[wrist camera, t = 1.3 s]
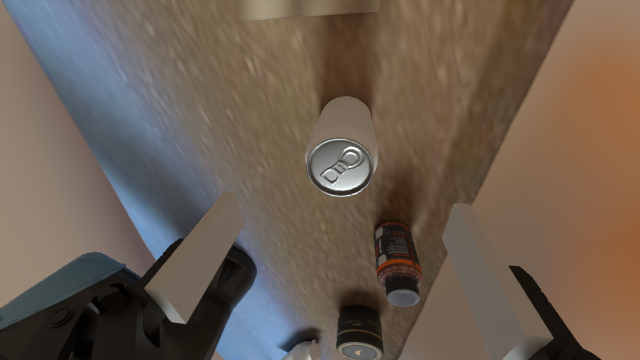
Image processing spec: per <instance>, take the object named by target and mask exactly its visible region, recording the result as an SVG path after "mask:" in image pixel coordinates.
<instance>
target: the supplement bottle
mask: <svg viewBox="0 0 640 360" xmlns="http://www.w3.org/2000/svg"><path fill="white" fill-rule="evenodd" d="M374 245H375V256H376V267H377V277H378V282H379V283H380V285H381V286H382V287H383V288H385V289H386V290H385V291H386V295H387V300H388V301H389V302H390V303H391V304H393V305H396V306H401V307H406V306H412V305H414V304H416V303H417V302H418V301H419V299H420V297H419V292H418V287H419V286H420V285H421V283H422V272H421V268H420V264H419V261H418V257H417V253H416V250H415V246H414V242H413V238H412V235H411V232H410V230H409V228H408V227H407V226H406V225H404V224H403V223H400V222H395V221H390V222H385V223H383V224H381V225H379V226H378V227H377V228H376V229H375V232H374Z"/></svg>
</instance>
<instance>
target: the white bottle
mask: <svg viewBox="0 0 640 360" xmlns="http://www.w3.org/2000/svg"><path fill="white" fill-rule="evenodd" d="M315 342H316V340H312V342H310V341H308V342H305V341H304V342H301V343H299V344H297V345H296V346H295V347H294V348H293V349H292V350H291V351H289V352H288V353H287V354H286V355H285V356H284V357H283V358H282V359H281V360H320V357H321V348H320V346H318V345H317V344H316V343H315Z"/></svg>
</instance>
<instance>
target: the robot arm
mask: <svg viewBox="0 0 640 360" xmlns="http://www.w3.org/2000/svg"><path fill="white" fill-rule="evenodd" d="M244 224H245V223H244V220H243V216H242V213H241V210H240V207H239V204H238V200H237V197H236V194H235V192H223V193H222V195H221V196H220V197H219V198H218V199H217V201H216V202H215V203H214V204H213V205H212V207H211V208H210V209H209V210H208V212H207V213H206V214H205V215H204V216H203V218H202V219H201V220H200V221H199V222H198V224H197V225H196V226H195V227H194V228H193V230H192V231H191V232H190V233H189V235H188V236H187V237H186V238H185V239H181V238H180V239H178V240H177V241H175V242H174V243H173V244H171V245H170V246H169V247H168V248H167V249H166V251H165V252H164V253H163V255H162V256H160V258H159V259H158V260H157V262H156V263H154V264H153V266H152V267H151V268H150V269H149V270H148V271H147V272H146V274H145V275H144V276H143V277H140V276H139V275H137V274H136V273H134V272H133V271H131V270H130V269H128V268H127V267H125V266H126V264H121V263H119V262H117V261H116V260H114V259H112V258H110V257H108V256H107V255H105V254H102V253H99V252H90V253H86V254H83V255H81V256H80V257H78V258H76V259H75V260H73V261H71V262H70V263H68V264H67V265H65V266H64V267H62V268H61V269H59V270H58V271H56V272H55V273H53V274H52V275H50V276H48V277H47V278H45V279H44V280H43V281H41V282H39V283H38V284H36V285H35V286H33V287H31V288H30V289H28V290H27V291H25V292H24V293H22V294H21V295H19V296H18V297H16V298H15V299H13V300H12V301H10V302H9V303H7V304H6V305H4V306H3V307H1V308H0V360H211V358H212V356H213V354H214V352H215V349H216V347H217V345H218V342H219V340H220V338H221V335H222V333H223V331H224V328H225V326H226V324H227V321H228V319H229V317H230V315H231V313H232V311H233V309H234V308H235V307H236V305H237V304H238V303H239V302H240V301H241V299H242V298H243V297H244V296H245V294H246V293H247V292H248V291H249V290H250V288H251V287H252V285H253V283H254V280H255V278H256V275H257V271H256V267H255V265H254V263H253V262H252V261H251V259H250V258H249V257H248V256H246V255H245V254H244V253H243V252H241V251H240V250H238V249H236V248H234V247H232V244H233V243H234V241H235V239H236V238H237V236H238V234H239V232H240V231H241V229H242V227H243V226H244ZM442 239H443V242H444V244H445V247H446V249H447V251H448V254H449V256H450V259H451V261H452V264H453V266H454V269H455V271H456V274H457V276H458V279H459V281H460V284H461V286H462V289H463V291H464V294H465V296H466V299H467V301H468V304H469V306H470V309H471V311H472V314H473V316H474V319H475V321H476V324H477V326H478V329H479V331H480V334H481V336H482V339H483V341H484V344H485V346H486V349H487V351H488V354H489V356H490V359H491V360H601V359H600V358H598V357H597V356H596V355H594V354H593V353H591V352H589V351H587V350H585V349H583V348H582V347H581V346H580V344H579V343H578V342H577V341H576V339H575V338H574V336H573V335H572V333H571V332H570V330H569V329H568V328H567V326H566V325H565V323H564V322H563V320H562V319H561V318H560V316H559V315H558V313H557V312H556V310H555V309H554V308H553V306H552V305H551V303H549V302H548V299H547V298H546V296H545V295H544V293H543V292H541V289H540V288H539V286H538V285H537V283H536V282H535V280H534V279H533V278H532V277H531V276H530V275H529V274H528V273H527V272H526V271H524V270H523V269H522V268H521V267H520V266H508V265H507V264H506V262H505V260H504V259H503V257H502V256H501V254H500V252H499V251H498V249H497V248H496V246H495V244H494V243H493V241H492V240H491V238H490V237H489V235H488V234H487V232H486V230H485V229H484V227H483V225H482V224H481V222H480V221H479V219H478V218H477V216H476V215H475V213H474V211H473V210H472V208H471V206H470V205H469V204H457V203H454V205H453V208H452V211H451V214H450V217H449V219H448V222H447V225H446V228H445V230H444V233H443V236H442Z"/></svg>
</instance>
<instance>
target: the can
mask: <svg viewBox="0 0 640 360" xmlns="http://www.w3.org/2000/svg"><path fill="white" fill-rule="evenodd" d="M305 161H306V168H307V174H308V177H309V179H310V180H311V182H312V183H313V184H314V186H315V187H317V188H318V189H319V190H320V191H322V192H324V193H326V194H329V195H332V196H339V197H344V196H350V195H354V194H356V193H358V192H360V191H362V190H363V189H364V188H366V187H367V185H368V184H369V183H370V181H371V180H372V177H373V174H374V172H375V170H376V167H377V162H378V154H377V146H376V140H375V134H374V129H373V123H372V118H371V114H370V111H369V109H368V107H367V106H366V105H365V104H364V103H363V102H362V101H360V100H358V99H357V98H354V97H350V96H342V97H338V98H335V99H333V100H332V101H330V102H329V103H328V104H327V105H326V106H325V107H324V109H323V110H322V112H321V114H320V117H319V119H318V121H317V124H316V126H315V128H314V131H313V133H312V136H311V138H310V140H309V143H308V146H307V149H306V154H305Z"/></svg>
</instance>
